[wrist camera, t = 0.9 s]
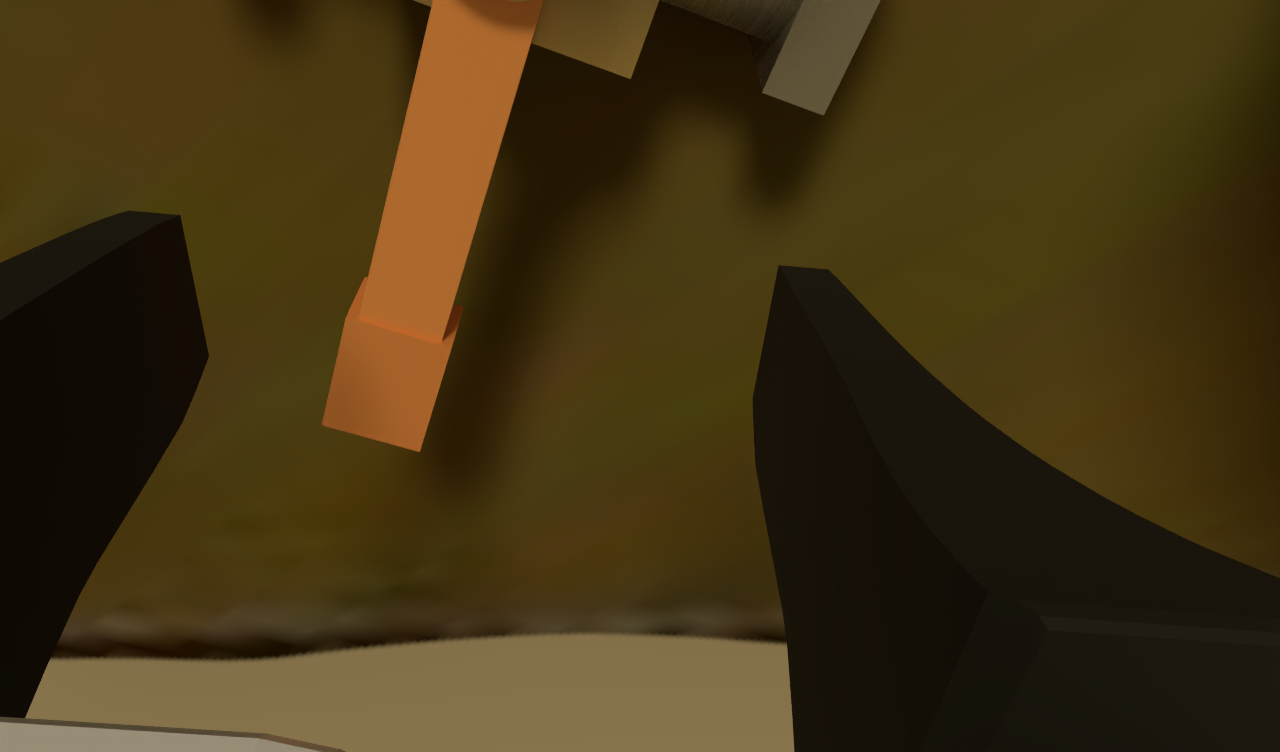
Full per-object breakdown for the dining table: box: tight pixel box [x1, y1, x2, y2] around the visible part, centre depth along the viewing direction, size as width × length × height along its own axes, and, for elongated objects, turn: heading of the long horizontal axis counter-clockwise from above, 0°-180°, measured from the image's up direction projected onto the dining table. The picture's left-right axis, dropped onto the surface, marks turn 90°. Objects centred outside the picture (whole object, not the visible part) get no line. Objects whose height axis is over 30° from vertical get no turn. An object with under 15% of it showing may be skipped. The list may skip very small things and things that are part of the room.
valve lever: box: [322, 0, 544, 452], centre depth 16 cm, size 12×3×2 cm, turn 160°
